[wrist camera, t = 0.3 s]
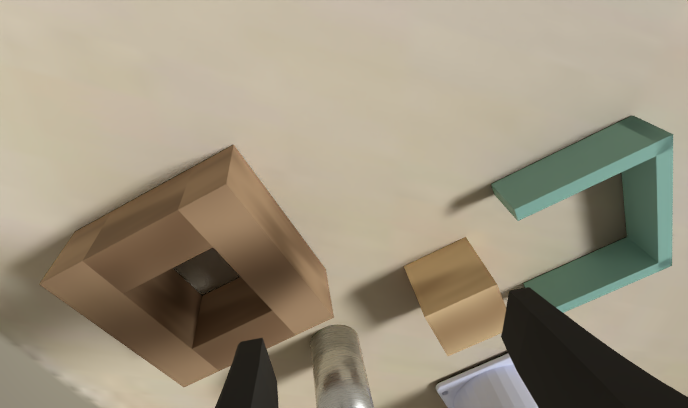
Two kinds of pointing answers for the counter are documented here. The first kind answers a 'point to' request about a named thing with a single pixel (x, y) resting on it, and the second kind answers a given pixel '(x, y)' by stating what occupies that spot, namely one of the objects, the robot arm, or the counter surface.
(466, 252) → the oak block
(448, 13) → the counter surface
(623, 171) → the u-shaped bracket
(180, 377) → the bored block
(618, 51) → the counter surface
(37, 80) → the counter surface
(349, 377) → the pin
